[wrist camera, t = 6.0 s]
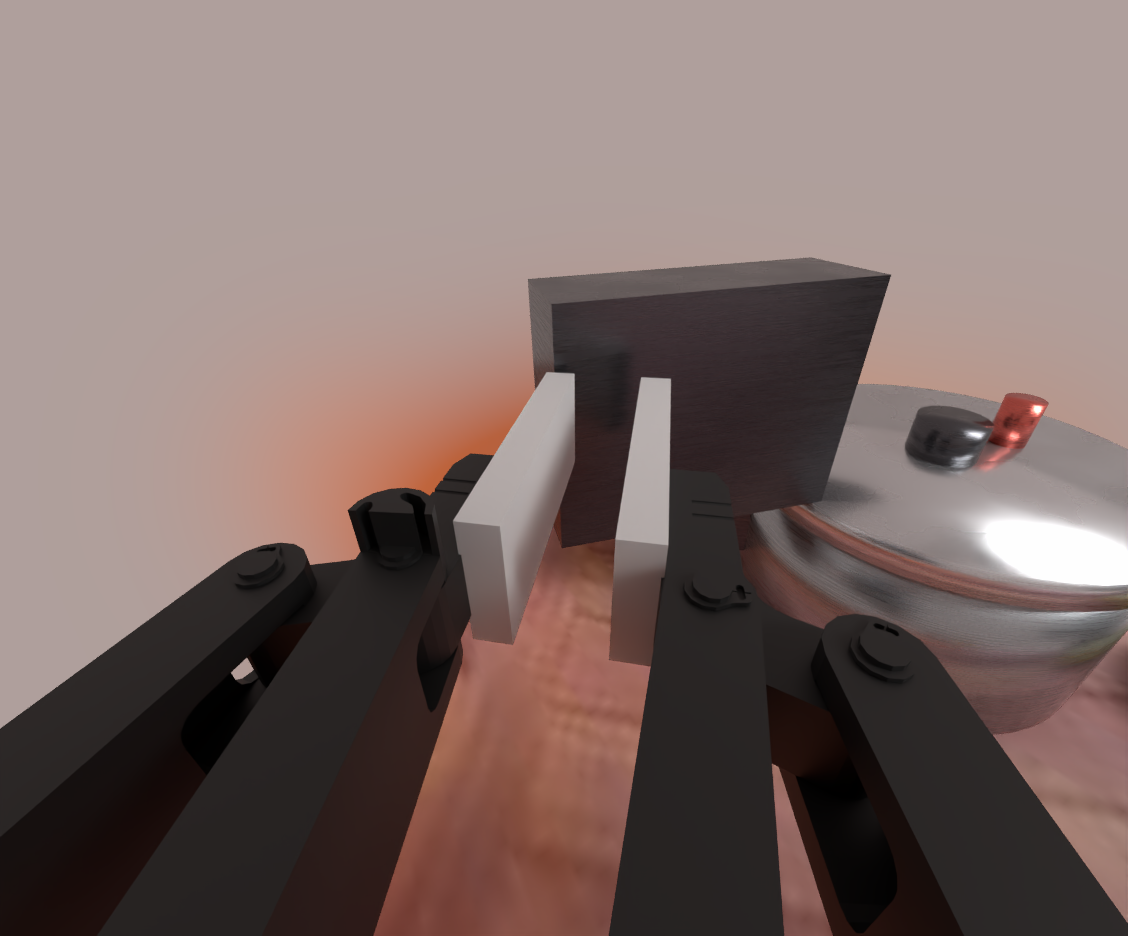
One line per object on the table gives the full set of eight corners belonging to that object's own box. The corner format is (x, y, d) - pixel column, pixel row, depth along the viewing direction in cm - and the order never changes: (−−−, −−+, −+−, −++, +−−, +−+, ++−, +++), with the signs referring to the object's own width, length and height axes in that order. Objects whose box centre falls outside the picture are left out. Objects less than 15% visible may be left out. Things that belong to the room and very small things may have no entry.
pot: (1033, 528, 29) (1097, 425, 25) (1277, 795, 17) (1469, 668, 13) (601, 483, 35) (602, 393, 31) (547, 656, 23) (538, 541, 19)
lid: (926, 390, 29) (992, 220, 24) (1319, 560, 16) (1625, 271, 12) (520, 446, 25) (503, 253, 20) (619, 743, 12) (638, 395, 7)
